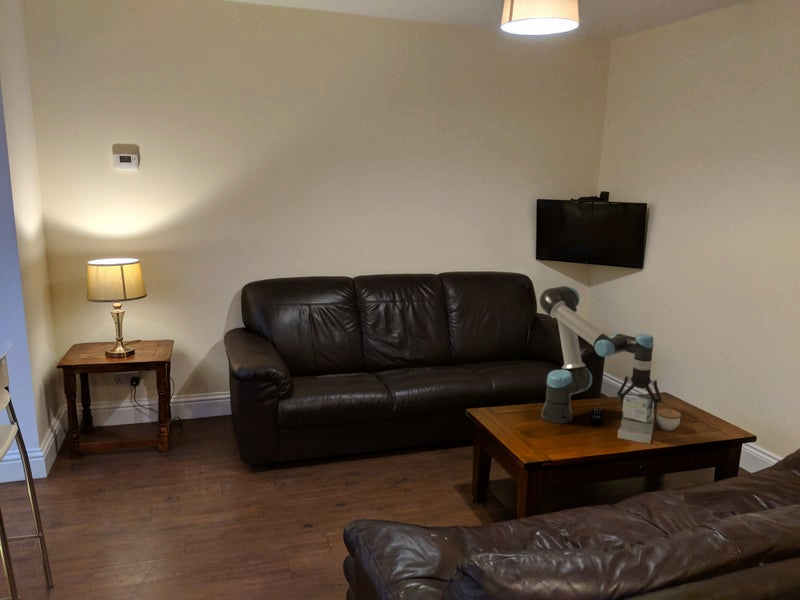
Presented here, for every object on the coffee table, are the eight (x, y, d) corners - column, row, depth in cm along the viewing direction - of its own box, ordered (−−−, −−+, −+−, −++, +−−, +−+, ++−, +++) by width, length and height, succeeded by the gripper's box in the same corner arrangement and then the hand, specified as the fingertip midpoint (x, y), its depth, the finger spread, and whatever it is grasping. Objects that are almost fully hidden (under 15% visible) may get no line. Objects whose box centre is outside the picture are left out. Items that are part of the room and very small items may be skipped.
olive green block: (621, 425, 290) (622, 413, 289) (623, 420, 296) (624, 408, 295) (652, 431, 284) (653, 419, 283) (653, 425, 290) (654, 414, 289)
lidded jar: (681, 433, 282) (684, 414, 280) (657, 431, 284) (659, 412, 282) (676, 424, 292) (678, 406, 290) (653, 422, 294) (655, 404, 293)
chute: (617, 437, 276) (618, 429, 275) (621, 426, 289) (622, 418, 289) (650, 443, 270) (651, 436, 269) (652, 431, 283) (653, 424, 282)
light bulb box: (651, 418, 277) (653, 396, 275) (646, 423, 272) (648, 400, 270) (628, 412, 284) (630, 391, 282) (623, 416, 279) (624, 394, 277)
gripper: (613, 366, 275) (609, 411, 279) (670, 374, 265) (665, 420, 269) (615, 362, 282) (611, 405, 286) (671, 369, 271) (666, 414, 276)
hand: (637, 413), depth 277 cm, fingers closed on light bulb box, 12 cm apart
